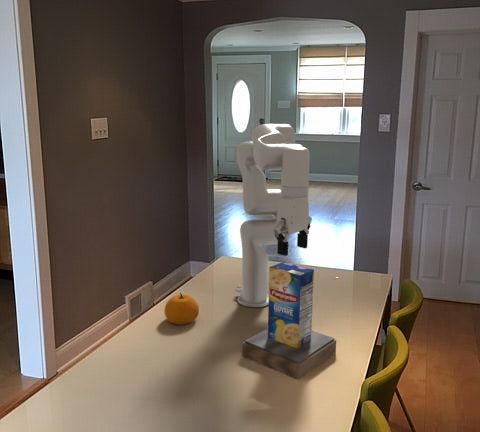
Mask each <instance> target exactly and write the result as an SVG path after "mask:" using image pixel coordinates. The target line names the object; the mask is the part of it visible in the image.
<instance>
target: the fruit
mask: <svg viewBox="0 0 480 432" xmlns="http://www.w3.org/2000/svg"><path fill="white" fill-rule="evenodd" d="M199 311H200V308H199V304H198V302H197V301H196V300H195V299H194V297H192V296H191V295H188V294H183V293H181V292H180V293H179V294H177V295H176V294H175V295H173V296H172V297H171V298H169V300H167V302H166V303H165V305H164V316H165V318H166V319H167V321H168V322H170V323H172V324H175V325H187V324H190V323H192V322H194V321H195V320H196V319H197V318H198V316H199Z"/></svg>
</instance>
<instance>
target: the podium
mask: <svg viewBox="0 0 480 432" xmlns="http://www.w3.org/2000/svg"><path fill="white" fill-rule="evenodd" d="M241 347H242V348H241V357H243V358H245V359H247V360H250V361H252V362H254V363H257V364H260V365H261V366H265V367H266V368H269V369H271V370H274V371H276V372H279V373H281V374H283V375H286V376H288V377H290V378H293V379H295V380H298V381H299V380H300V379H302V378H304V377H305V376H306V375H307V374H309V373H311V372H312V371H313V370H315V369H316V368H318V367H319V366H321V365H322V364H323V363H324V362H326V361H328V360H329V359H330V358H331V357H333V356H334V355H336V354H337V353H336V352H337V339H335V338H334V337H331V336H329V335H326V334H323V333H320V332H317V331H315V330H312V329H311V341H309V342H308V343H306V344H305V345H303V346H301V347H300V348H298V349H297V348H295V347H292V346H289V345H287V344H284V343H281V342H279V341H276V340H273V339H270V338H268V328H266V329H264V330H262V331H260V332H258V333H256V334H255V335H253V336H250V337H249V338H246V339H245V340H244V341H243V342H242V344H241Z"/></svg>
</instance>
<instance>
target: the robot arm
mask: <svg viewBox="0 0 480 432" xmlns="http://www.w3.org/2000/svg"><path fill="white" fill-rule="evenodd" d="M296 140H297V137H296V132H295V130H294V128H293V126H291V125H290V124H289V123H288V124H287V123H263V124H259V125H257V126H255V128H253V130H252V132H251V140H249V141H242V142H241V143H239V144H238V145H237V148H236V161H237V166H238V169H239V171H240V174H241V178H242V196H243V197H242V202H243V209H244V212H245V214H246V215H248V216H254V217H255V216H272V217H273V218H257V219H256V218H255V219H254V218H253V219H248V220H245V221H243V222H242V223H241V225H240V229H239V233H240V242H241V249H242V250H241V251H242V252H241V253H242V254H241V256H242V261H241V263H242V265H241V266H242V267H241V268H242V269H241V271H242V274H241V276H242V277H241V285H239V284H238V285H237V286H236V288H235V289H234V291H235V292H236V293H238V294H239V296H238V297H237V302H238V303H239V304H240V305H241V306H244V307H248V308H264V307H266V306H269V294H268V284H269V278H268V277H269V276H268V275H269V273H268V272H269V256H268V254H267V252H266V251H265V249H264V248H262V247H263V246H272V245H277V252H276V253H277V254H278V255H280V256H284V257H286V256H288V255H289V241H288V239H289V238H290V235H293V234H295V233H297V235H296V236H297V237H296V238H297V239H296V241H297V243H296V246H297V247H298V248H302V249H308V236H309V234H310V229H311V223H312V220H313V218H312V217H311V216H310V214H309V213H310V211H309V210H310V207H309V205H310V204H309V179H310V159H311V157H310V154H311V153H310V150H309V148H308V147H307V148H306V147H304V146H303V145H302V144H299V143H296ZM264 171H281V178H280V179H281V184H280V185H281V186H280V189H279V188H278V189H277V188H275V189H274V188H271V189H267V177H266V174H265V172H264Z"/></svg>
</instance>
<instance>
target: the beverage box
mask: <svg viewBox="0 0 480 432" xmlns="http://www.w3.org/2000/svg"><path fill="white" fill-rule="evenodd" d="M268 272H269V273H268V275H269V276H268V277H269V278H268V296H269V305H268V309H267V311H268V314H267V315H268V319H267V329H268V338H270V339H273V340H276V341H279V342H281V343H284V344H287V345H289V346H292V347H295V348H297V349H298V348H300V347H301V346H303V345H305V344H306V343H308V342H309V341H311V330H312V322H313V321H312V320H313V302H314V301H313V299H314V281H315V280H314V277H315V270H314V269H312V268H309V267H305V266H301V265H298V264H294V263H290V262H285V261H282V262H279V263H276V264H275V265H272V266H268Z"/></svg>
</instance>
